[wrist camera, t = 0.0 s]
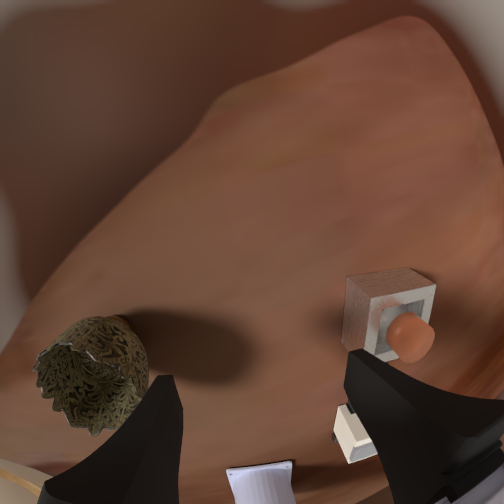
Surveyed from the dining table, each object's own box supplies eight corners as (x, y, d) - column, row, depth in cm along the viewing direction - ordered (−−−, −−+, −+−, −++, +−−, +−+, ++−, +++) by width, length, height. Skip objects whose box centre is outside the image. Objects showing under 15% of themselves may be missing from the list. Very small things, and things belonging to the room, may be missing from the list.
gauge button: (413, 341, 19) (428, 356, 17) (382, 351, 18) (396, 368, 16) (421, 307, 18) (438, 321, 16) (389, 316, 17) (405, 331, 15)
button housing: (397, 329, 23) (420, 351, 20) (340, 342, 23) (359, 370, 19) (407, 267, 22) (436, 284, 18) (346, 276, 21) (371, 298, 17)
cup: (154, 287, 19) (125, 353, 12) (171, 368, 21) (160, 444, 14) (67, 290, 19) (14, 345, 11) (92, 366, 21) (61, 431, 13)
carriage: (369, 419, 27) (389, 452, 22) (332, 430, 26) (349, 466, 21) (377, 394, 26) (400, 429, 20) (337, 406, 25) (357, 445, 20)
